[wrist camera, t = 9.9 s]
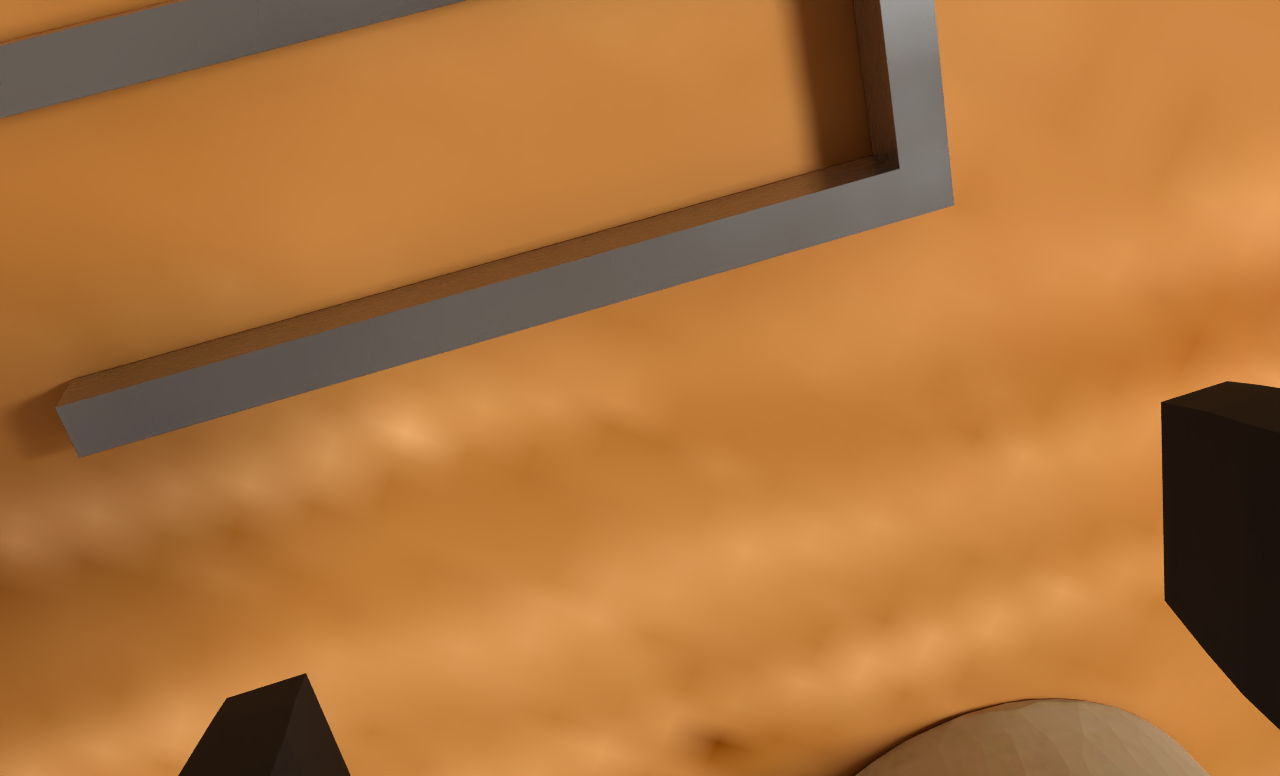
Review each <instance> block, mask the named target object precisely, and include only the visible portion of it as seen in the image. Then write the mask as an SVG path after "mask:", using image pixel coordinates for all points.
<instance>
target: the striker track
mask: <svg viewBox="0 0 1280 776" xmlns="http://www.w3.org/2000/svg"><path fill="white" fill-rule="evenodd" d="M461 1H465V0H170V1H166V2H162V3H158V4H154V5H150V6H146V7H142V8H138V9H134V10H130V11H126V12H122V13H117V14H113V15H109V16H105V17H101V18H97V19H93V20H89V21H85V22H81V23H77V24H73V25H69V26H65V27H60V28H56V29H52V30H48V31H44V32H40V33H36V34H32V35H28V36H24V37H20V38H16V39H12V40H8V41H3V42H0V118H3V117H7V116H11V115H15V114H19V113H23V112H26V111H30V110H34V109H38V108H42V107H46V106H50V105H54V104H58V103H62V102H66V101H70V100H74V99H78V98H82V97H86V96H90V95H94V94H98V93H102V92H106V91H109V90H113V89H117V88H121V87H125V86H129V85H133V84H137V83H141V82H145V81H149V80H153V79H157V78H161V77H165V76H169V75H173V74H177V73H181V72H185V71H189V70H193V69H196V68H200V67H204V66H208V65H212V64H216V63H220V62H224V61H228V60H232V59H236V58H240V57H244V56H248V55H252V54H256V53H260V52H264V51H268V50H272V49H276V48H279V47H283V46H287V45H291V44H295V43H299V42H303V41H307V40H311V39H315V38H319V37H323V36H327V35H331V34H335V33H339V32H343V31H347V30H351V29H355V28H359V27H362V26H366V25H370V24H374V23H378V22H382V21H386V20H390V19H394V18H398V17H402V16H406V15H410V14H414V13H418V12H422V11H426V10H430V9H434V8H438V7H442V6H446V5H449V4H453V3H457V2H461ZM853 5H854V13H855V21H856V28H857V36H858V44H859V52H860V60H861V67H862V75H863V83H864V91H865V99H866V106H867V114H868V122H869V130H870V138H871V145H872V153H873V155H872V156H868V157H865V158H861V159H858V160H854V161H851V162H847V163H844V164H840V165H836V166H833V167H829V168H826V169H822V170H819V171H815V172H811V173H808V174H804V175H801V176H797V177H794V178H790V179H787V180H783V181H779V182H776V183H772V184H769V185H765V186H762V187H758V188H754V189H751V190H747V191H744V192H740V193H737V194H733V195H729V196H726V197H722V198H719V199H715V200H712V201H708V202H705V203H701V204H697V205H694V206H690V207H687V208H683V209H680V210H676V211H672V212H669V213H665V214H662V215H658V216H655V217H651V218H648V219H644V220H640V221H637V222H633V223H630V224H626V225H623V226H619V227H615V228H612V229H608V230H605V231H601V232H598V233H594V234H591V235H587V236H583V237H580V238H576V239H573V240H569V241H566V242H562V243H558V244H555V245H551V246H548V247H544V248H541V249H537V250H534V251H530V252H526V253H523V254H519V255H516V256H512V257H509V258H505V259H501V260H498V261H494V262H491V263H487V264H484V265H480V266H477V267H473V268H469V269H466V270H462V271H459V272H455V273H452V274H448V275H444V276H441V277H437V278H434V279H430V280H427V281H423V282H419V283H416V284H412V285H409V286H405V287H402V288H398V289H395V290H391V291H387V292H384V293H380V294H377V295H373V296H370V297H366V298H362V299H359V300H355V301H352V302H348V303H345V304H341V305H338V306H334V307H330V308H327V309H323V310H320V311H316V312H313V313H309V314H305V315H302V316H298V317H295V318H291V319H288V320H284V321H281V322H277V323H273V324H270V325H266V326H263V327H259V328H256V329H252V330H248V331H245V332H241V333H238V334H234V335H231V336H227V337H224V338H220V339H216V340H213V341H209V342H206V343H202V344H199V345H195V346H191V347H188V348H184V349H181V350H177V351H174V352H170V353H167V354H163V355H159V356H156V357H152V358H149V359H145V360H142V361H138V362H134V363H131V364H127V365H124V366H120V367H117V368H113V369H109V370H106V371H102V372H99V373H95V374H92V375H88V376H85V377H81V378H77V379H74V380H71V381H70V383H69V385H68V386H67V388H66V390H65V391H64V393H63V395H62V396H61V398H60V400H59V401H58V403H57V405H56V406H55V409H56V411H57V414H58V416H59V418H60V420H61V422H62V424H63V426H64V428H65V430H66V432H67V434H68V436H69V438H70V440H71V442H72V444H73V446H74V448H75V450H76V452H77V454H78V456H79V458H80V457H83V456H87V455H90V454H94V453H97V452H100V451H104V450H107V449H111V448H114V447H118V446H121V445H125V444H128V443H132V442H135V441H139V440H142V439H146V438H149V437H152V436H156V435H159V434H163V433H166V432H170V431H173V430H177V429H180V428H184V427H187V426H191V425H194V424H198V423H201V422H204V421H208V420H211V419H215V418H218V417H222V416H225V415H229V414H232V413H236V412H239V411H243V410H246V409H250V408H253V407H256V406H260V405H263V404H267V403H270V402H274V401H277V400H281V399H284V398H288V397H291V396H295V395H298V394H301V393H305V392H308V391H312V390H315V389H319V388H322V387H326V386H329V385H333V384H336V383H340V382H343V381H347V380H350V379H353V378H357V377H360V376H364V375H367V374H371V373H374V372H378V371H381V370H385V369H388V368H392V367H395V366H399V365H402V364H405V363H409V362H412V361H416V360H419V359H423V358H426V357H430V356H433V355H437V354H440V353H444V352H447V351H451V350H454V349H457V348H461V347H464V346H468V345H471V344H475V343H478V342H482V341H485V340H489V339H492V338H496V337H499V336H503V335H506V334H509V333H513V332H516V331H520V330H523V329H527V328H530V327H534V326H537V325H541V324H544V323H548V322H551V321H555V320H558V319H561V318H565V317H568V316H572V315H575V314H579V313H582V312H586V311H589V310H593V309H596V308H600V307H603V306H606V305H610V304H613V303H617V302H620V301H624V300H627V299H631V298H634V297H638V296H641V295H645V294H648V293H652V292H655V291H658V290H662V289H665V288H669V287H672V286H676V285H679V284H683V283H686V282H690V281H693V280H697V279H700V278H704V277H707V276H710V275H714V274H717V273H721V272H724V271H728V270H731V269H735V268H738V267H742V266H745V265H749V264H752V263H756V262H759V261H762V260H766V259H769V258H773V257H776V256H780V255H783V254H787V253H790V252H794V251H797V250H801V249H804V248H808V247H811V246H814V245H818V244H821V243H825V242H828V241H832V240H835V239H839V238H842V237H846V236H849V235H853V234H856V233H860V232H863V231H866V230H870V229H873V228H877V227H880V226H884V225H887V224H891V223H894V222H898V221H901V220H905V219H908V218H911V217H915V216H918V215H922V214H925V213H929V212H932V211H936V210H939V209H943V208H946V207H950V206H953V205H954V199H953V189H952V179H951V169H950V159H949V148H948V138H947V128H946V118H945V108H944V98H943V88H942V77H941V67H940V57H939V47H938V37H937V27H936V16H935V6H934V0H853Z"/></svg>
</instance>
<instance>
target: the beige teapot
mask: <svg viewBox="0 0 1280 776" xmlns="http://www.w3.org/2000/svg"><path fill="white" fill-rule="evenodd" d="M855 776H1210V775H1209V774H1208V773H1207V772H1206V771H1205V770H1204V769H1203V768H1202V767H1201V766H1200V765H1199V764H1198V763H1197V762H1196V761H1195V760H1194V759H1193V758H1192V757H1191V756H1190V755H1189V754H1188V753H1187V752H1186V751H1185V750H1184V749H1183V747H1182V746H1181V745H1179V744H1178V743H1177V742H1176V741H1175V740H1173V739H1172V738H1171V737H1170V736H1169V735H1167V734H1166V733H1165V732H1164V731H1163V730H1161V729H1159V728H1157V727H1156V726H1154V725H1152V724H1150V723H1149V722H1147V721H1145V720H1143V719H1142V718H1140V717H1138V716H1136V715H1135V714H1133V713H1130V712H1127V711H1124V710H1121V709H1119V708H1116V707H1113V706H1109V705H1104V704H1099V703H1094V702H1089V701H1083V700H1070V699H1040V700H1027V701H1019V702H1012V703H1005V704H1001V705H997V706H993V707H990V708H986V709H982V710H979V711H975V712H971V713H968V714H964V715H962V716H960V717H957V718H955V719H953V720H950V721H948V722H946V723H943V724H941V725H939V726H936V727H934V728H932V729H930V730H927V731H925V732H923V733H921V734H919V735H917V736H914V737H912V738H910V739H908V740H906V741H904V742H902V743H901V744H899V745H898V746H896V747H895V748H893V749H892V750H890V751H889V752H887V753H886V754H884V755H883V756H881V757H880V758H878V759H877V760H875V761H874V762H872V763H871V764H870V765H868V766H867V767H866V768H864V769H863V770H862V771H861V772H859V773H858V774H857V775H855Z"/></svg>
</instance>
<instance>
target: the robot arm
mask: <svg viewBox="0 0 1280 776" xmlns="http://www.w3.org/2000/svg"><path fill="white" fill-rule="evenodd" d="M1161 423H1162V479H1163V534H1164V589H1165V601H1166V603H1167V604H1168V605H1169V606H1170V608H1171V609H1172V610H1173V611H1174V613H1175V614H1176V615H1177V616H1178V618H1179V619H1180V620H1181V621H1182V623H1183V624H1184V625H1185V626H1186V628H1187V629H1188V630H1189V631H1190V633H1191V634H1192V635H1193V636H1194V638H1195V639H1196V640H1197V641H1198V643H1199V644H1200V645H1201V646H1202V648H1203V649H1204V650H1205V651H1206V652H1207V654H1208V655H1209V656H1210V657H1211V658H1212V659H1213V661H1214V662H1215V663H1216V664H1217V665H1218V666H1219V667H1220V669H1221V670H1222V671H1223V672H1224V673H1225V674H1226V676H1227V677H1228V678H1229V679H1230V680H1231V681H1232V682H1233V684H1234V685H1235V686H1236V687H1237V688H1238V689H1239V691H1240V692H1241V693H1242V694H1243V695H1244V696H1245V697H1246V698H1247V699H1248V700H1249V701H1250V702H1251V703H1252V704H1253V705H1254V706H1255V707H1256V708H1257V709H1258V710H1260V711H1261V712H1262V713H1263V714H1264V715H1265V716H1266V717H1267V718H1268V719H1269V720H1270V721H1271V722H1272V723H1273V724H1274V725H1275V726H1276V727H1277V728H1279V729H1280V388H1275V387H1269V386H1262V385H1255V384H1247V383H1238V382H1229V381H1226V382H1223V383H1220V384H1217V385H1214V386H1211V387H1207V388H1204V389H1201V390H1198V391H1195V392H1192V393H1189V394H1185V395H1182V396H1179V397H1176V398H1173V399H1170V400H1166V401H1163V402H1161ZM179 776H350V773H349V771H348V769H347V766H346V764H345V762H344V760H343V757H342V755H341V753H340V750H339V748H338V746H337V743H336V741H335V739H334V737H333V734H332V732H331V730H330V727H329V725H328V723H327V720H326V718H325V716H324V714H323V711H322V709H321V707H320V704H319V702H318V700H317V697H316V695H315V693H314V691H313V688H312V686H311V684H310V681H309V679H308V677H307V674H306V673H305V674H302V675H299V676H296V677H292V678H289V679H286V680H283V681H280V682H277V683H274V684H270V685H267V686H264V687H261V688H258V689H255V690H251V691H248V692H245V693H242V694H239V695H236V696H233V697H229V698H227V699H226V700H225V702H224V703H223V705H222V706H221V708H220V709H219V711H218V712H217V714H216V715H215V717H214V718H213V720H212V722H211V723H210V725H209V727H208V728H207V730H206V731H205V733H204V735H203V736H202V738H201V740H200V741H199V743H198V744H197V746H196V748H195V749H194V751H193V753H192V754H191V756H190V758H189V759H188V761H187V763H186V764H185V766H184V767H183V769H182V771H181V772H180V774H179Z"/></svg>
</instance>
